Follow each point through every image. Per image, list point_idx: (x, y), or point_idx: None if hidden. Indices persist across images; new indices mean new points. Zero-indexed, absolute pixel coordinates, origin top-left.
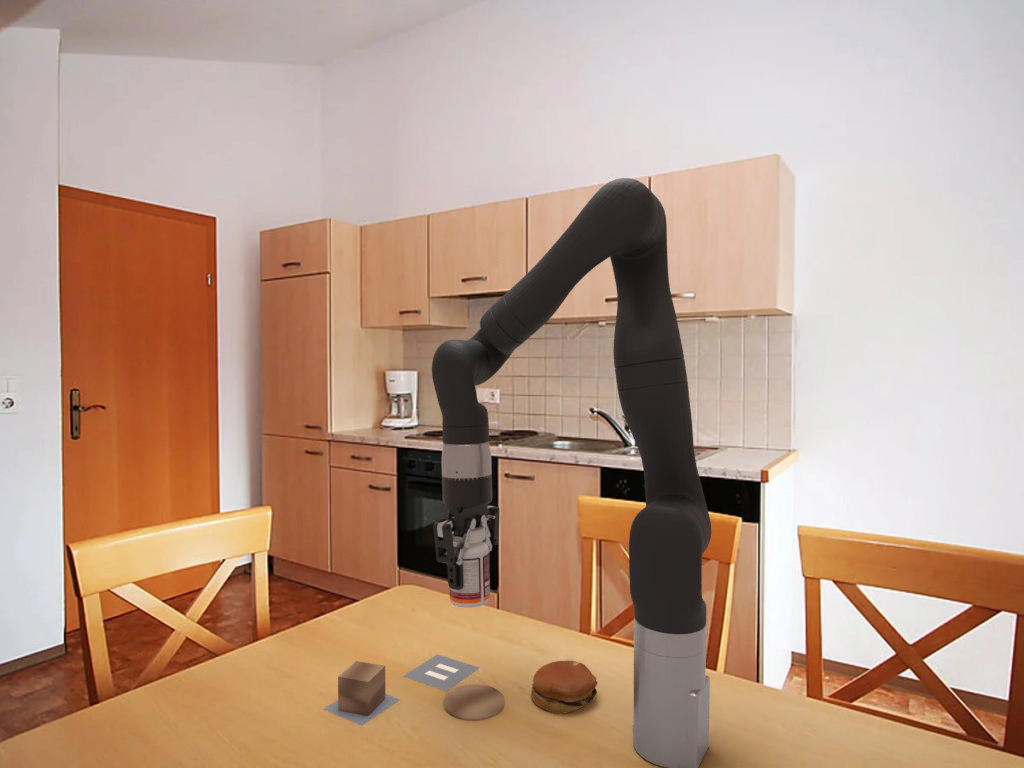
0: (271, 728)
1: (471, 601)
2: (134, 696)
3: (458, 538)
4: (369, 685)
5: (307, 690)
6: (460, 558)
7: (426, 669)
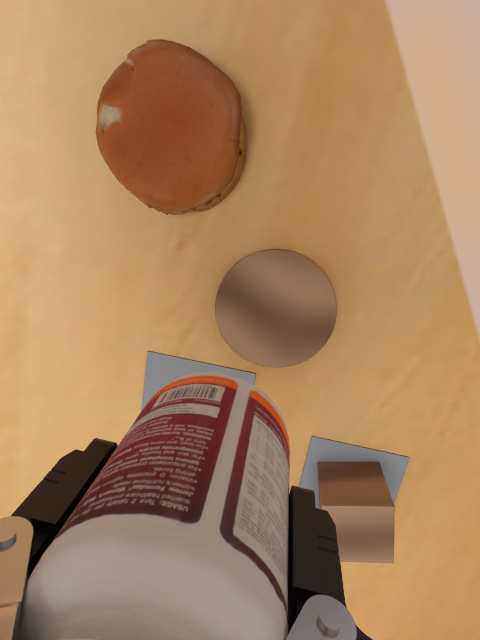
0: (455, 573)
1: (279, 419)
2: None
3: None
4: (388, 499)
5: None
6: (323, 636)
7: None
